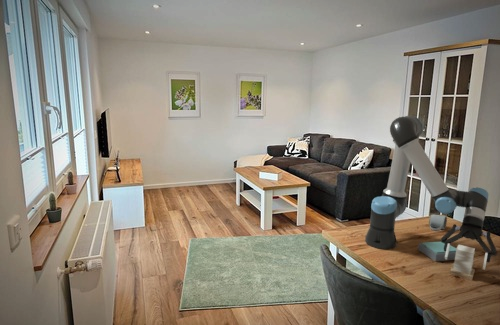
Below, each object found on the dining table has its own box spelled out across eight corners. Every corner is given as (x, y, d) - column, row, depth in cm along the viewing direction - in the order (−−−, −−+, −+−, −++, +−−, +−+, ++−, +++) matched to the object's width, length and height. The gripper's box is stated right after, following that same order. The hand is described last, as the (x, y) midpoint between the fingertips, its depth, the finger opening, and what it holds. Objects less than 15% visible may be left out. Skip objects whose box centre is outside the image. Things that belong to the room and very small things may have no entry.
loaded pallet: (449, 273, 140) (453, 249, 138) (452, 266, 146) (456, 243, 144) (472, 280, 135) (476, 255, 133) (474, 272, 141) (478, 248, 139)
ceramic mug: (430, 223, 196) (432, 211, 195) (446, 227, 191) (447, 214, 190) (426, 229, 189) (427, 216, 187) (442, 233, 183) (443, 220, 182)
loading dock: (435, 261, 150) (436, 253, 150) (417, 249, 162) (418, 242, 161) (461, 259, 153) (462, 251, 152) (442, 247, 165) (443, 240, 164)
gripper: (507, 230, 141) (500, 276, 133) (442, 217, 157) (431, 257, 148) (509, 222, 136) (502, 269, 128) (441, 209, 152) (430, 250, 143)
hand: (464, 263), depth 138 cm, fingers open, 13 cm apart
